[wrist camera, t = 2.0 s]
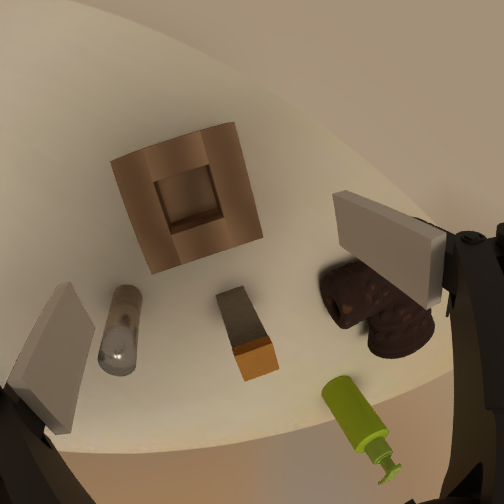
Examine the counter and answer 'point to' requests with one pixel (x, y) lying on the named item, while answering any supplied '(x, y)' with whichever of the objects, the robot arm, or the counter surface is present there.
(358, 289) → the pipe
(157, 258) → the socket block
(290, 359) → the counter surface
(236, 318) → the square bit
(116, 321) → the cylinder
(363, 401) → the soap dispenser
